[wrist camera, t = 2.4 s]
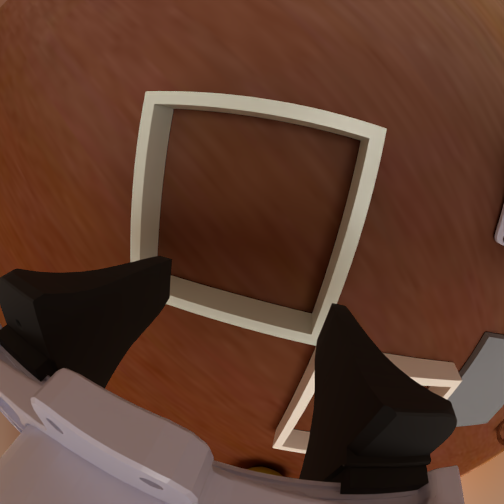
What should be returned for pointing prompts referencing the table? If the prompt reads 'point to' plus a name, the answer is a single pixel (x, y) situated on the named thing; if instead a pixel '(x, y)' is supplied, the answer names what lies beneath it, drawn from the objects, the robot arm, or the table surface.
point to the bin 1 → (223, 302)
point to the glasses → (501, 441)
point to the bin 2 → (420, 370)
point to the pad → (481, 383)
